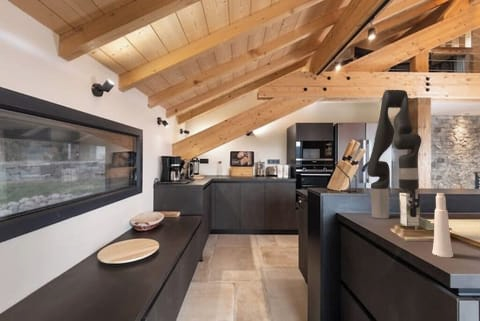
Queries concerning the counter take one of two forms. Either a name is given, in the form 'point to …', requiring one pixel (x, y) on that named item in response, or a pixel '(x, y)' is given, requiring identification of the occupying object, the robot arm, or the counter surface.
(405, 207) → the syrup box
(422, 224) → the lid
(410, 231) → the board
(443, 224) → the cosmetic bottle
